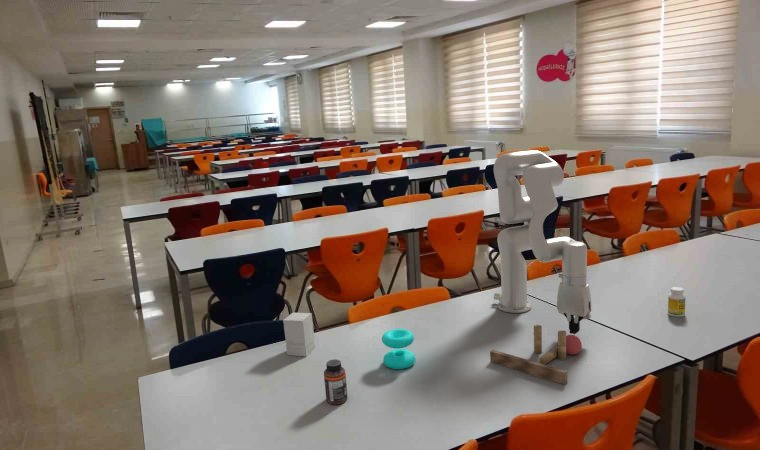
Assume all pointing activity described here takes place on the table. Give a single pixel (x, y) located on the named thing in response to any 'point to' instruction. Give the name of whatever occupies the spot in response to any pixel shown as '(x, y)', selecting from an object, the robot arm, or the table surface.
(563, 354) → the right back pin
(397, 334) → the donuts
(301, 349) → the supplement box
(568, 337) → the ball
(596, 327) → the table surface
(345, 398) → the supplement bottle
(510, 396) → the table surface
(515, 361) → the back wall
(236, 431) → the table surface
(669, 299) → the supplement bottle
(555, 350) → the front pin
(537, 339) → the left back pin
